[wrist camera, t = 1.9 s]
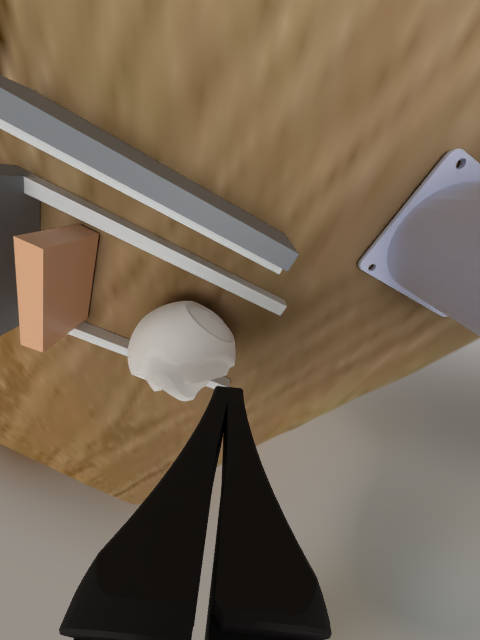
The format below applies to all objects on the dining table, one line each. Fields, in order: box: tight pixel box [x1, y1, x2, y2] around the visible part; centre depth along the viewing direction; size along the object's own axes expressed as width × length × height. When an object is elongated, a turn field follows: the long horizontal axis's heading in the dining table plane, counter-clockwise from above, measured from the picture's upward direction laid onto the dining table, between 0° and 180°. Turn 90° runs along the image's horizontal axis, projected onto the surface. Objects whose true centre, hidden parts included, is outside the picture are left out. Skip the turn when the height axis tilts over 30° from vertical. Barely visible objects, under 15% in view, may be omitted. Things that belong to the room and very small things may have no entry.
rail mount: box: [0, 75, 299, 389], centre depth 15 cm, size 21×16×6 cm
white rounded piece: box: [128, 301, 236, 401], centre depth 17 cm, size 8×8×8 cm
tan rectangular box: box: [13, 224, 99, 352], centre depth 16 cm, size 2×8×5 cm, turn 153°
